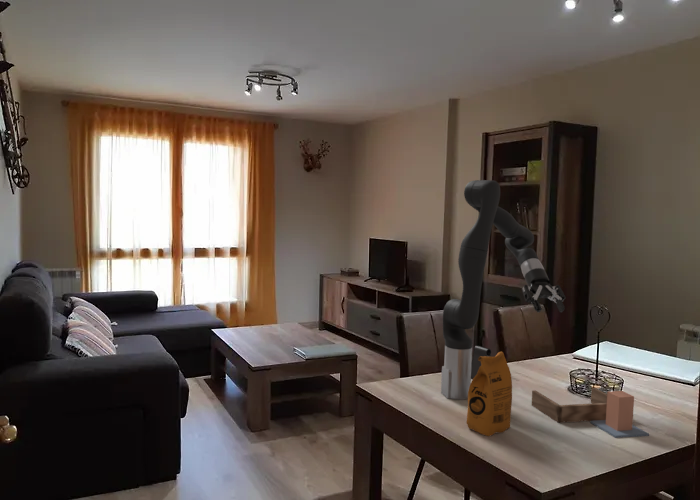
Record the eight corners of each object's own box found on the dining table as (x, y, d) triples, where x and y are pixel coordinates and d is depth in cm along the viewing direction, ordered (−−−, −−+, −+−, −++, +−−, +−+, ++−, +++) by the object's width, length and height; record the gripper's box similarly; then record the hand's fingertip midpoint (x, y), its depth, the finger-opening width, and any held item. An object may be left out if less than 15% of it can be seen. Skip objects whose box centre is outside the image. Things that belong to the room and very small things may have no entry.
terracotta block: (617, 430, 151) (619, 397, 151) (605, 424, 156) (607, 391, 155) (632, 429, 152) (634, 396, 152) (620, 423, 157) (621, 390, 156)
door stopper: (483, 373, 206) (484, 344, 205) (495, 378, 201) (496, 347, 201) (467, 377, 201) (468, 346, 200) (479, 381, 196) (480, 350, 195)
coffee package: (460, 426, 153) (463, 353, 151) (488, 418, 160) (491, 347, 159) (487, 439, 145) (491, 361, 143) (515, 429, 152) (519, 355, 150)
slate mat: (615, 437, 148) (615, 435, 148) (590, 422, 158) (590, 420, 158) (648, 435, 150) (648, 433, 150) (621, 420, 161) (621, 418, 161)
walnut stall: (557, 422, 158) (558, 406, 157) (531, 405, 172) (532, 390, 172) (624, 418, 162) (625, 403, 162) (593, 402, 177) (594, 387, 176)
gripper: (520, 267, 183) (536, 304, 173) (556, 267, 186) (575, 304, 176) (512, 280, 189) (527, 317, 178) (547, 280, 192) (564, 317, 181)
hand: (551, 311), depth 177 cm, fingers open, 8 cm apart
